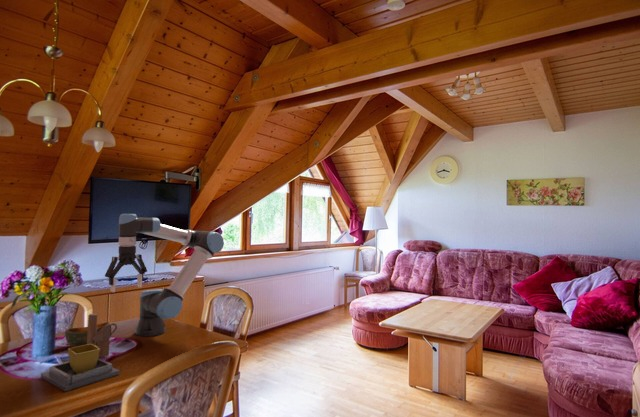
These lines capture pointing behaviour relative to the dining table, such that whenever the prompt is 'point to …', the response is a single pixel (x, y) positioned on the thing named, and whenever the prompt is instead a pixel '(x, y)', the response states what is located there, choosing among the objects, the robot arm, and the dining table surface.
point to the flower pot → (83, 357)
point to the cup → (83, 334)
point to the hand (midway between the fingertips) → (126, 289)
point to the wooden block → (98, 335)
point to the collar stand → (78, 375)
